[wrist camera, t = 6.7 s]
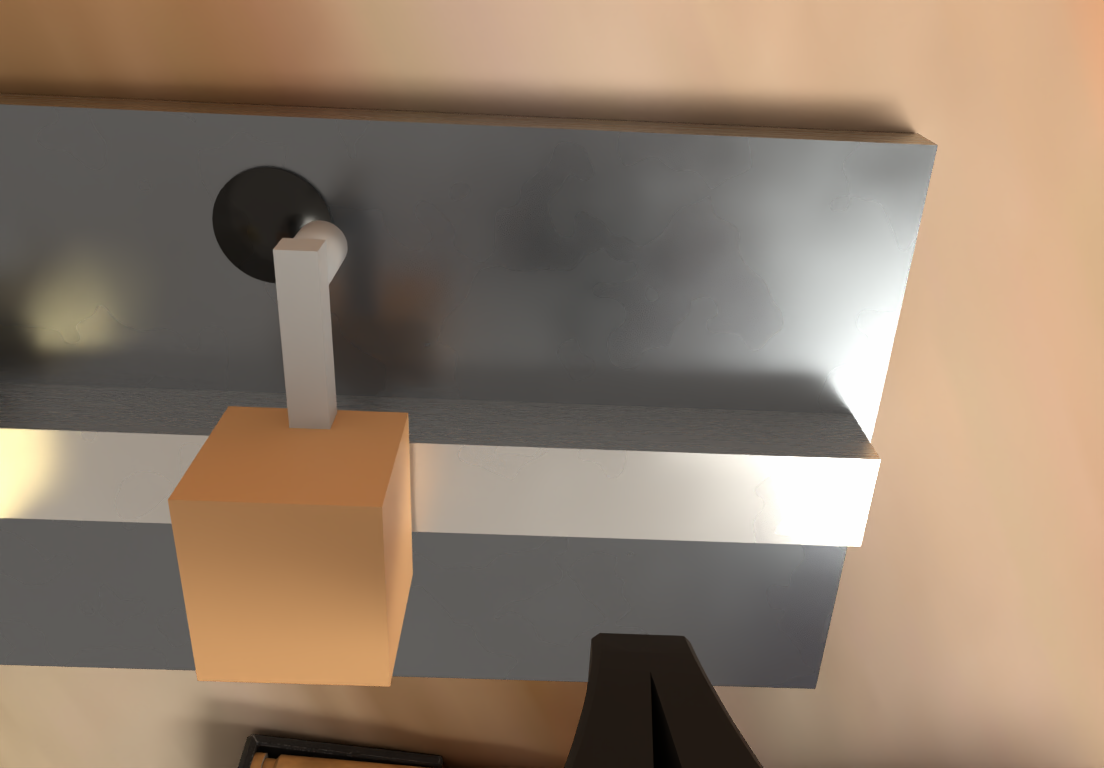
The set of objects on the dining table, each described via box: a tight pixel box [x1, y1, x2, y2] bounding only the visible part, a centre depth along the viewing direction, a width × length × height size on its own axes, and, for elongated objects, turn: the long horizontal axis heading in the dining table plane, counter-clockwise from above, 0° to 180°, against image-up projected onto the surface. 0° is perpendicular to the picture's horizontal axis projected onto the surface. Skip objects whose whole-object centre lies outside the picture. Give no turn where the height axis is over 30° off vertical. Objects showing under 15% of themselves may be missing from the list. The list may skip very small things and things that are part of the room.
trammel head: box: [168, 220, 413, 686], centre depth 16 cm, size 3×7×4 cm, turn 177°
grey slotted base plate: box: [0, 93, 938, 689], centre depth 18 cm, size 22×13×6 cm, turn 88°
